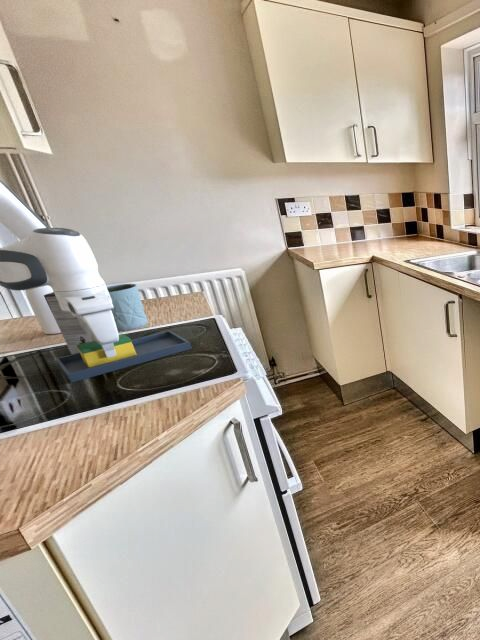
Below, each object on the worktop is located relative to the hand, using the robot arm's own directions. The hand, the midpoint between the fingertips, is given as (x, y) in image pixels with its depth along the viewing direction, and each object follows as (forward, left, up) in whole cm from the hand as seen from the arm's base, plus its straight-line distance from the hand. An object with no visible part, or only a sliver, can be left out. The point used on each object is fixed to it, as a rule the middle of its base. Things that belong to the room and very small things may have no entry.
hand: (107, 352), depth 104 cm
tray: (+3, -1, -2) cm, 4 cm away
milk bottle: (-3, +42, -2) cm, 42 cm away
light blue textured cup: (+10, +29, -2) cm, 31 cm away
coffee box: (0, +15, -2) cm, 15 cm away
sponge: (0, 0, -2) cm, 2 cm away
